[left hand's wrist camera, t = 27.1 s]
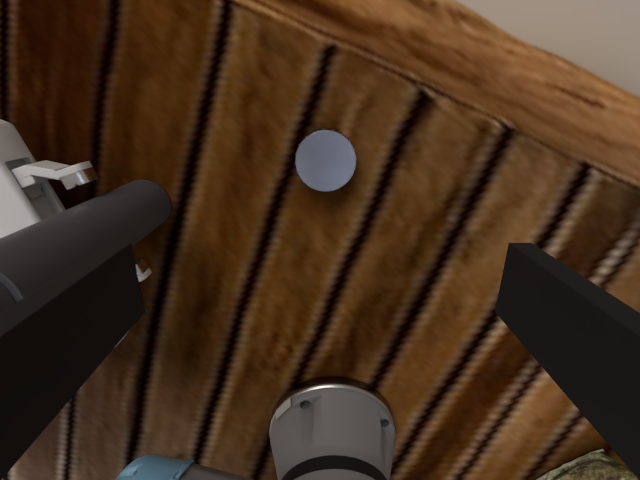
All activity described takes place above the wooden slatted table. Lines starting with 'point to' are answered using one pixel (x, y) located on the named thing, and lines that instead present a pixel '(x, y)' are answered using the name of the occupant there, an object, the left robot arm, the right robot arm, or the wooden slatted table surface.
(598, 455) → the fossil
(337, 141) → the lid
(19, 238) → the dark grey cylinder
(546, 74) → the wooden slatted table surface
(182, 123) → the wooden slatted table surface
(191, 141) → the wooden slatted table surface
